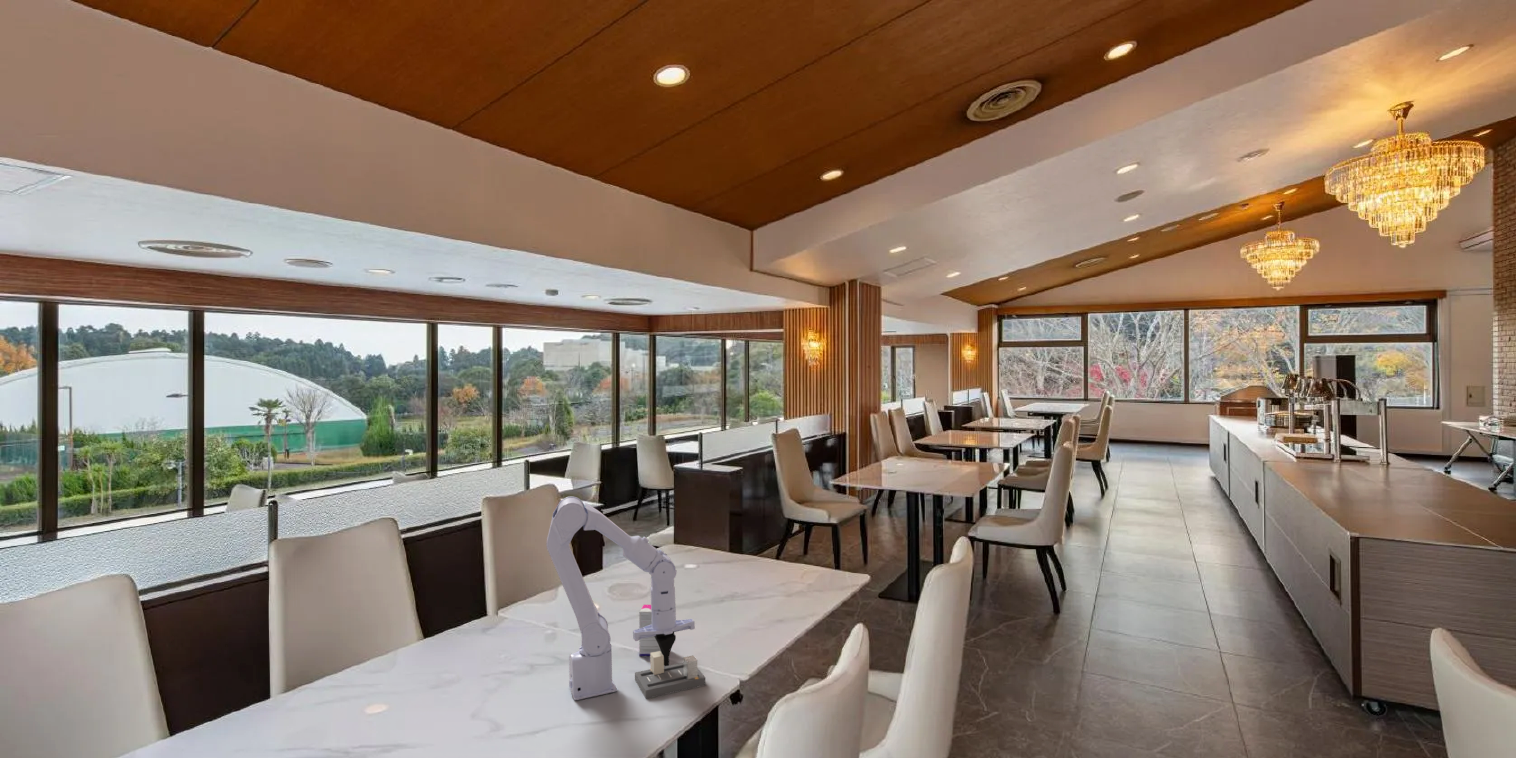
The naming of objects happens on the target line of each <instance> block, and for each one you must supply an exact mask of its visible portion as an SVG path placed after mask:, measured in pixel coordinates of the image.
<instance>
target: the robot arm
mask: <svg viewBox="0 0 1516 758" xmlns="http://www.w3.org/2000/svg"><path fill="white" fill-rule="evenodd" d="M581 528H583V531H594V530H595V531H597V532H598V533H600V534H601V535H603V536H605V538H607V539H609V540H610V541H612V542H613V543H615V544H616V545H617V546H618V547H620V548H622V555H623V557H624V558H626V560H628V561H630V562H631V563H632V564H634V565H635V566H636V567H638V569H641V570H642V571H643V572H646V573H649V575H650V576H651V577H650V585H651V587H650V605H651V615H652V624H651V625H648V626H645V627H643V628H640V629H639V628H637V629H633V630H632V637H633V638H632V639H633V640H634V641H635V642H639V640H640V639H643V638H648V637H653V636H654V637H655V639H656V641H657V643H658V645H659V647H660V650H661V653H662V654H663V656H664V666H669V665H670V659H669V658H670V656H671V655H670V654H671V651H672V648H673V645H674V643H675V642H676V638H677V637H676V634H675V633H677V632H682V631H687V630H690V631H692V630H696V628H695V626H696V625H695V624H696V623H695V620H694V619H693V618H685V619H677V612H676V587H675V578H676V576H677V573H678V572H677V569H676V566H675V564H674V562H673V560H672V559H671V558H670V557H669V556H668V554H667V553H665V552H664V551H663V550H662V549H661V548H660V549H657V548H656V547H655V546H653V545H652V544H651V543H650V542H649V539H648V538H647V537H646V536H643V537H642V536H640V535H633V536H631V535H630V534H628V533H626V532H625V531H624V530H623V529H622V528H620V527H619V526H618V525H617V524H615V523H614V522H613V521H612V520H611V519H609V518H608V517H607V516H606V515H605V514H603V513H602V512H601V511H599V510H598V509H597V508H595V507H594V506H592V505H590V504H588V503H587V502H583V501H582V500H581V499H580V498H579V497H576V496H570V495H569V496H567V497H564V498H563V499H561V500H560V501H559V503H558V504H557V506H556V508H555V509H554V511H553V512H552V515H551V521H550V526H549V529H548V534H547V537H546V544H545V545H546V550H547V552H548V554H549V557H550V559H551V561H552V564H553V566H554V568H555V571H556V573H557V576H558V578H559V580H560V582H561V585H562V587H563V590H564V592H565V594H566V596H567V599H568V601H569V604H570V606H571V609H572V610H573V613H574V616H575V618H576V621H577V625H578V628H579V631H580V634H581V644H580V646H579V648H578V649H579V650H578V651H576V652H573V653H571V654H569V656H568V669H569V670H568V673H569V675H568V676H569V680H568V683H569V684H568V685H569V689H570V692H571V695H572V698H573V701H578V700H584V699H588V698H592V697H597V696H601V695H606V694H610V693H615V692H617V690H618V689H617V686H616V684H615V683H614V681H613V662H612V661H613V660H612V657H613V656H612V644H611V635H610V632H609V625H608V624H609V623H608V620H607V619H606V618H605V616H603V615H602V614H600V612H599V611H598V608H597V606H596V604H595V603H594V601H593V597H592V596H591V594H590V592H589V591H590V590H589V589H588V586H587V584H586V582H585V579H584V577H583V575H582V572H581V570H580V567H579V564H578V563H577V560H576V558H575V555H574V553H573V551H572V549H571V546H570V544H571V542H572V539H573V537H574V536H575V534H576V533H577V532H578V531H579V530H580V529H581Z"/></svg>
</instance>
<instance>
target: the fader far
mask: <svg viewBox="0 0 1516 758" xmlns="http://www.w3.org/2000/svg"><path fill="white" fill-rule="evenodd" d="M649 658H650V659H649V660H650V669H651V671H652V673H653V674H654V675H656V674H661V673H664V656H663V654H662V653H661V652H660V651H658V652H652V653H650V656H649Z"/></svg>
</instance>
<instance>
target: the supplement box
mask: <svg viewBox="0 0 1516 758" xmlns="http://www.w3.org/2000/svg"><path fill="white" fill-rule="evenodd" d="M638 616H639V621H638V622H639V626H638V627H639V628H638V629H640V628H643V627H645V626H648V625H651V624H652V615H651V604H643V605H642V606H641V609H640V610H639V615H638ZM638 643H639V647H638V648H639V650H638V653H639V655H638V656H639V657H650V653H652V652H658V651H660V652H661V650H660V647H659V645H658V643H657V641H656V639H655V637H654V636H653V637H648V638H643V639H640V640H639V641H638Z"/></svg>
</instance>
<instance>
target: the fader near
mask: <svg viewBox="0 0 1516 758" xmlns="http://www.w3.org/2000/svg"><path fill="white" fill-rule="evenodd" d="M682 659H683V660H682V663H683V666H684V676H685V677H686V678H687V679H688V680H689V679H694V678H698V669H699V668H698V659H697V658H696V657H695V655H689V656H688V655H687V656H683V658H682Z"/></svg>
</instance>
